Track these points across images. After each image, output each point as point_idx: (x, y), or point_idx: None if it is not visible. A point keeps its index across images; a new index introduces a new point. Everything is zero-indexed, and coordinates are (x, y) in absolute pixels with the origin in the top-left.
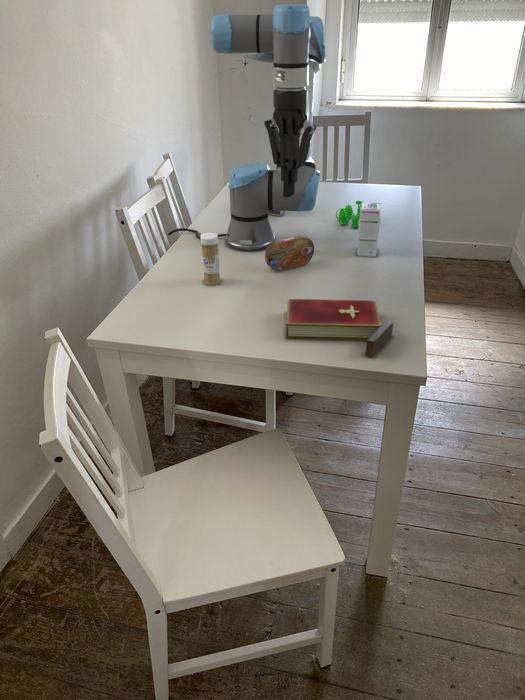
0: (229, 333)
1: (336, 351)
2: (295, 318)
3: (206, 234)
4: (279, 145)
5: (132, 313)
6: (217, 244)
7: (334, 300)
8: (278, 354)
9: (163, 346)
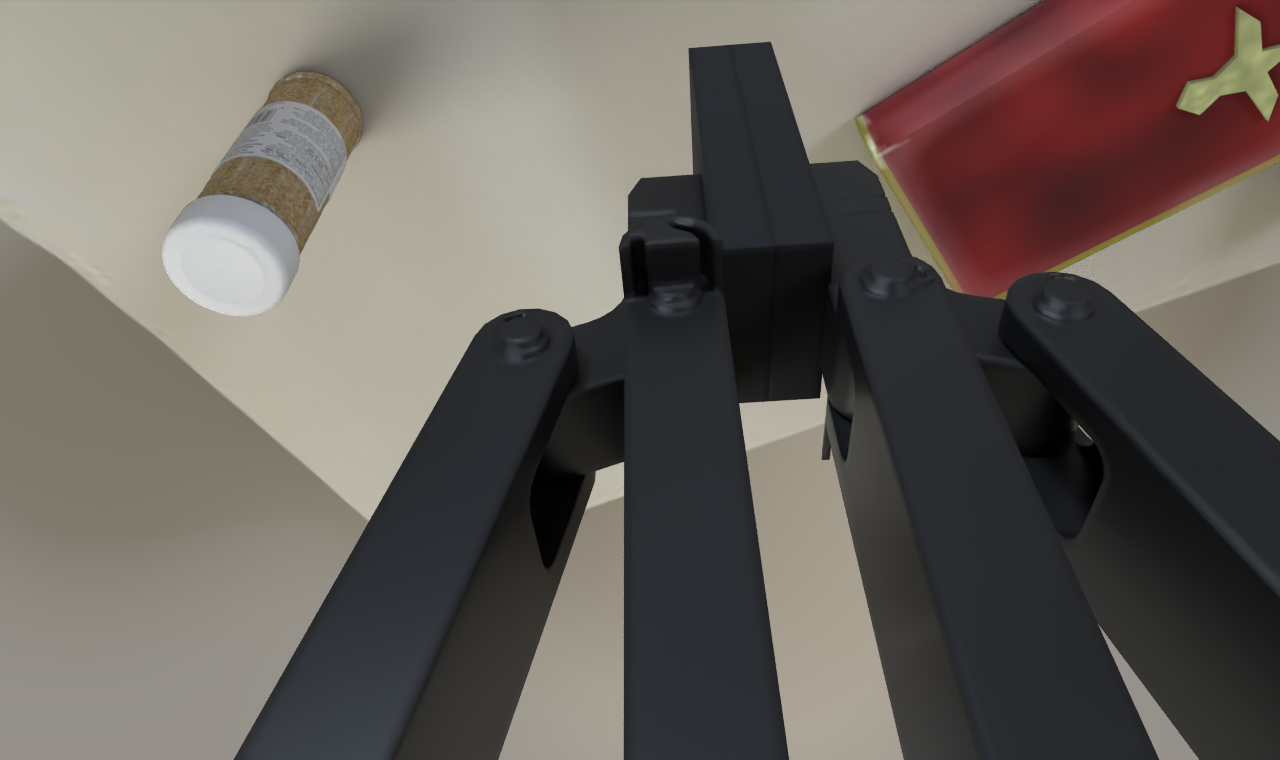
0: None
1: (1175, 226)
2: (987, 266)
3: (197, 272)
4: (479, 614)
5: (358, 455)
6: (277, 208)
7: (1124, 12)
8: None
9: (612, 499)
